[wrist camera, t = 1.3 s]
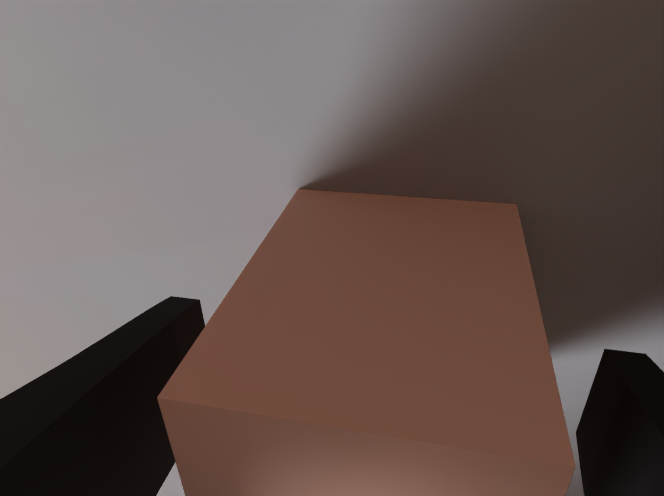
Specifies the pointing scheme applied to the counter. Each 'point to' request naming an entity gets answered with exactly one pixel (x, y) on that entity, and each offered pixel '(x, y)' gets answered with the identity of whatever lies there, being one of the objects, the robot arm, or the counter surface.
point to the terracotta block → (374, 360)
